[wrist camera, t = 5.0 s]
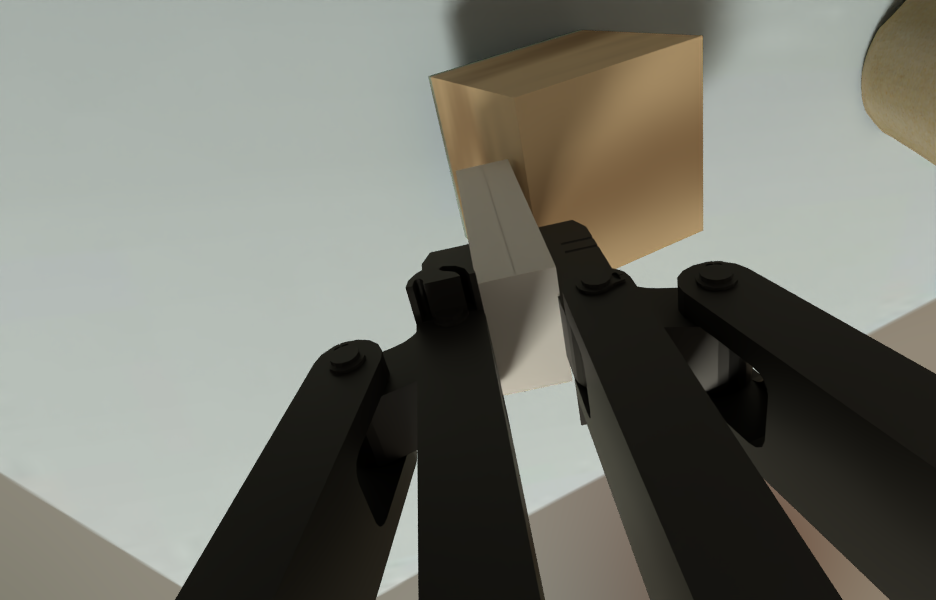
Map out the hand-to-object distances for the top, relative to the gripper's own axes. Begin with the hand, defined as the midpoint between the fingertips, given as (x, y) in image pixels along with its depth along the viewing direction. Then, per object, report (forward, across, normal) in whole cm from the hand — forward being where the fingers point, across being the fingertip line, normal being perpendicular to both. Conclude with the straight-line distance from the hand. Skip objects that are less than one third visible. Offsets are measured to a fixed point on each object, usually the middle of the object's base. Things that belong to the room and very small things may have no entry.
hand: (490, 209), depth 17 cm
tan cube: (+6, +2, 0) cm, 6 cm away
